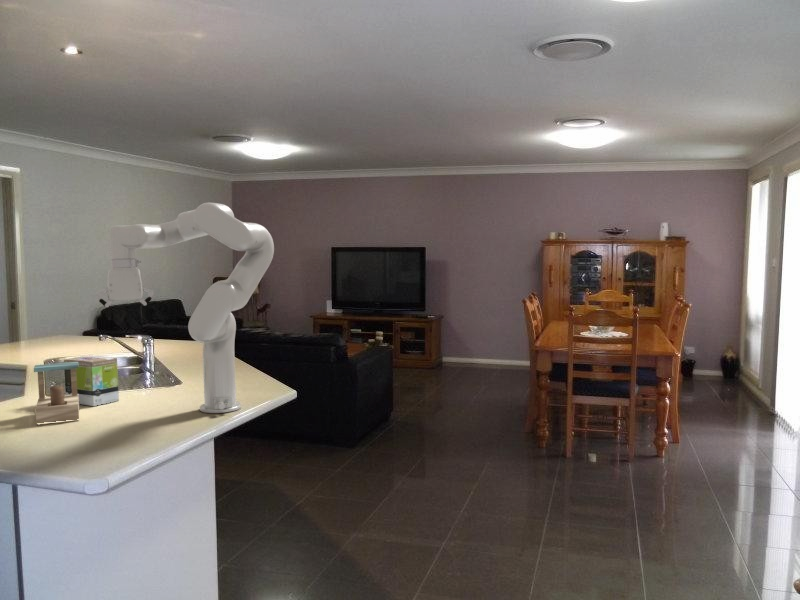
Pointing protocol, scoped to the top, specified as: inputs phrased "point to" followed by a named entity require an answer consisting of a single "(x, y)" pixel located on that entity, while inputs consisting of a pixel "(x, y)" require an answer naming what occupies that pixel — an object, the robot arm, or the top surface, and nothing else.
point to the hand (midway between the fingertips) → (126, 318)
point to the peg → (57, 395)
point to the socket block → (44, 403)
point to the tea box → (94, 380)
